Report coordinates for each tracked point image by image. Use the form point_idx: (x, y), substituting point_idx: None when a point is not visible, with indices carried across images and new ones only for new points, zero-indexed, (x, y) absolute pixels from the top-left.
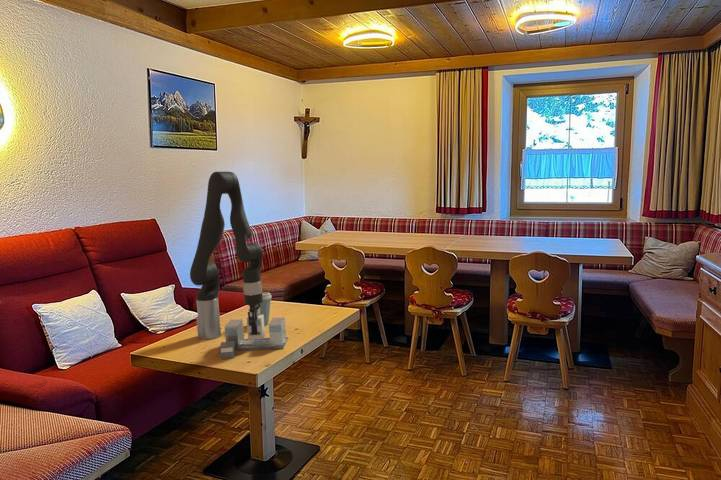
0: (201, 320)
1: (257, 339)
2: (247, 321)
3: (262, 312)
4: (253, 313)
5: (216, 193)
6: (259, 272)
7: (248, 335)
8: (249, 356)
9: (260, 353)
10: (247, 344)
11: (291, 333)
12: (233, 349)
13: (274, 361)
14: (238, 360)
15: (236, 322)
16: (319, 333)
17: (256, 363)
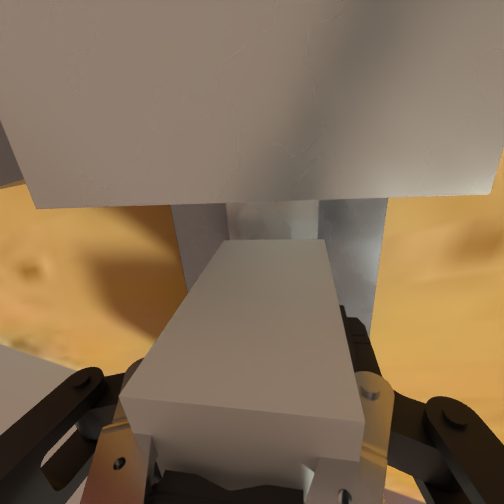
0: None
1: (352, 260)
2: (151, 360)
3: None
4: None
5: None
6: None
7: (213, 259)
8: (92, 259)
9: (141, 303)
10: (228, 220)
11: (474, 411)
12: (8, 186)
13: (65, 364)
14: (27, 216)
15: (237, 130)
16: (419, 499)
17: (24, 305)
